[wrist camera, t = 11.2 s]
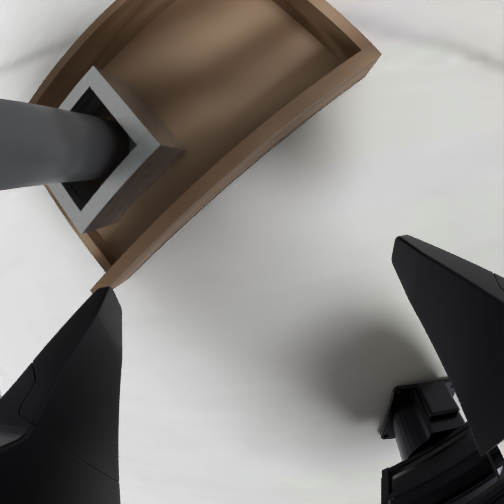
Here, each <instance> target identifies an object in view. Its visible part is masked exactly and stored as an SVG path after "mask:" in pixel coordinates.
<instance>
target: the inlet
mask: <svg viewBox="0 0 504 504" xmlns="http://www.w3.org/2000/svg"><path fill="white" fill-rule="evenodd" d="M58 109H63V110H68V111H73V112H77V113H82V114H87V115H91V116H96V117H100V118H104V119H107V118H108V117H109V116H110V115H111V114H112V115H113V116H114V117H115V119H116V120H117V121H118V122H119V124H120V125H121V126H122V127H123V129H124V130H125V131H126V132H127V133H128V135H129V136H130V137H131V138H132V140H133V141H134V142H135V143H136V144H137V146H136V147H135V148H134V149H133V150H132V151H131V152H130V153H129V155H128V156H127V157H126V158H125V159H124V160H123V161H122V162H121V163H120V165H119V166H118V167H117V168H116V169H115V170H114V171H113V173H112V174H111V175H110V176H109V177H108V178H107V180H106V181H105V182H104V183H103V184H102V183H101V182H100V181H99V179H98V180H85V181H74V182H64V183H54V184H47V185H48V187H49V188H50V190H51V191H52V193H53V194H54V196H55V197H56V199H57V200H58V202H59V203H60V205H61V206H62V208H63V209H64V211H65V212H66V214H67V215H68V217H69V218H70V220H71V221H72V222H73V224H74V225H75V227H76V228H77V230H78V231H79V232H80V234H84V233H87V232H90V231H93V230H96V229H100V228H103V227H106V226H109V225H112V224H115V223H117V222H118V221H119V220H120V219H121V218H122V217H123V216H124V215H125V213H126V212H127V211H128V210H129V209H130V208H131V207H132V206H133V205H134V204H135V203H136V202H137V200H138V199H139V198H140V197H141V196H142V195H143V194H144V193H145V192H146V191H147V190H148V189H149V188H150V187H151V186H152V185H153V184H154V183H155V182H156V181H157V180H158V179H159V178H160V177H161V176H162V175H163V174H164V173H165V172H166V171H167V170H168V169H169V168H170V167H171V166H172V165H173V164H174V163H175V162H176V161H177V160H178V159H179V158H180V157H181V156H182V155H183V154H184V153H185V152H186V151H187V149H186V148H185V147H184V146H183V145H182V144H181V142H180V141H179V140H178V139H177V138H176V137H175V136H174V134H173V133H172V132H171V131H170V130H169V129H168V128H167V126H166V125H165V124H164V123H163V122H162V121H161V119H160V118H159V117H158V116H157V115H156V114H155V113H154V112H153V110H152V109H151V108H150V107H149V106H148V105H147V104H146V102H145V101H144V100H143V99H142V98H141V97H140V96H139V94H138V93H137V92H136V91H135V90H134V89H133V88H132V87H131V85H130V84H129V83H128V82H127V81H125V80H123V79H121V78H119V77H117V76H115V75H113V74H110V73H108V72H106V71H104V70H102V69H100V68H98V67H95V66H92V67H91V69H90V70H89V71H88V72H87V73H86V74H85V75H84V77H83V78H82V79H81V80H80V81H79V83H78V84H77V85H76V86H75V87H74V89H73V90H72V91H71V92H70V94H69V95H68V96H67V98H66V99H65V100H64V101H63V103H62V104H61V105H60V107H59V108H58Z"/></svg>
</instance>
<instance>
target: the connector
mask: <svg viewBox="0 0 504 504" xmlns="http://www.w3.org/2000/svg"><path fill="white" fill-rule="evenodd" d="M136 146H137V144H136V143H135V142H134V141H133V140H132V138H131V137H130V136H129V135H128V133H127V132H126V131H125V130H124V129H123V127H122V126H121V125H120V124H119V123H118V122H116V121H112V120H108V119H104V118H100V117H96V116H91V115H87V114H82V113H77V112H73V111H68V110H63V109H58V108H53V107H47V106H42V105H36V104H31V103H25V102H18V101H12V100H5V99H0V190H6V189H13V188H20V187H28V186H36V185H45V184H54V183H64V182H74V181H85V180H98V179H107V178H108V177H109V176H110V175H111V174H112V173H113V171H114V170H115V169H116V168H117V167H118V166H119V165H120V163H121V162H122V161H123V160H124V159H125V158H126V157H127V156H128V155H129V153H130V152H131V151H132V150H133V149H134V148H135V147H136Z"/></svg>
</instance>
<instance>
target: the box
mask: <svg viewBox="0 0 504 504" xmlns="http://www.w3.org/2000/svg"><path fill="white" fill-rule="evenodd" d="M380 56H381V53H380V52H379V51H378V50H377V49H376V47H375V46H374V45H373V44H372V43H371V42H370V41H369V40H368V39H367V38H366V37H365V36H364V35H363V34H362V33H361V32H360V31H359V30H358V29H357V28H356V27H354V26H353V25H352V24H351V23H350V22H349V21H348V20H347V19H346V18H345V17H344V16H343V15H342V14H340V13H339V12H338V11H337V10H336V9H335V8H334V7H332V6H331V5H330V4H329V3H328V2H327V1H325V0H116V1H115V2H114V3H113V4H112V5H111V6H109V7H108V8H107V9H106V10H105V11H104V12H103V13H102V14H101V15H100V16H99V17H98V18H97V19H96V20H95V21H94V22H93V23H92V24H91V25H90V26H89V27H88V29H87V30H86V31H85V32H84V33H83V34H82V35H81V36H80V37H79V38H78V39H77V41H76V42H75V43H74V44H73V45H72V46H71V47H70V49H69V50H68V51H67V52H66V53H65V55H64V56H63V57H62V58H61V59H60V61H59V62H58V63H57V64H56V66H55V67H54V68H53V70H52V71H51V72H50V73H49V75H48V76H47V77H46V79H45V80H44V81H43V83H42V84H41V86H40V87H39V88H38V90H37V91H36V93H35V94H34V96H33V97H32V99H31V100H30V102H29V103H31V104H36V105H42V106H47V107H53V108H59V107H60V105H61V104H62V103H63V101H64V100H65V99H66V98H67V96H68V95H69V94H70V92H71V91H72V90H73V89H74V87H75V86H76V85H77V84H78V83H79V81H80V80H81V79H82V78H83V77H84V75H85V74H86V73H87V72H88V71H89V70H90V69H91V67H92V66H95V67H98V68H100V69H102V70H104V71H106V72H108V73H110V74H113V75H115V76H117V77H119V78H121V79H123V80H125V81H127V82H128V83H129V84H130V85H131V87H132V88H133V89H134V90H135V91H136V92H137V93H138V94H139V96H140V97H141V98H142V99H143V100H144V101H145V102H146V104H147V105H148V106H149V107H150V108H151V109H152V110H153V112H154V113H155V114H156V115H157V116H158V117H159V118H160V119H161V121H162V122H163V123H164V124H165V125H166V126H167V128H168V129H169V130H170V131H171V132H172V133H173V134H174V136H175V137H176V138H177V139H178V140H179V141H180V142H181V144H182V145H183V146H184V147H185V148H186V149H187V151H186V152H185V153H184V154H183V155H182V156H181V157H180V158H179V159H178V160H177V161H176V162H175V163H174V164H173V165H172V166H171V167H170V168H169V169H168V170H167V171H166V172H165V173H164V174H163V175H162V176H161V177H160V178H159V179H158V180H157V181H156V182H155V183H154V184H153V185H152V186H151V187H150V188H149V189H148V190H147V191H146V192H145V193H144V194H143V195H142V196H141V197H140V198H139V199H138V200H137V202H136V203H135V204H134V205H133V206H132V207H131V208H130V209H129V210H128V211H127V212H126V213H125V215H124V216H123V217H122V218H121V219H120V220H119V221H118V222H117V223H115V224H112V225H109V226H106V227H103V228H100V229H96V230H93V231H90V232H87V233H84V234H80V232H79V231H78V230H77V228H76V227H75V225H74V224H73V222H72V221H71V220H70V218H69V217H68V215H67V214H66V212H65V211H64V209H63V208H62V206H61V205H60V203H59V202H58V200H57V199H56V197H55V196H54V194H53V193H52V191H51V190H50V188H49V187H48V185H47V184H45V185H44V186H45V187H46V189H47V190H48V192H49V194H50V195H51V197H52V198H53V200H54V201H55V203H56V204H57V206H58V207H59V209H60V210H61V212H62V213H63V215H64V216H65V218H66V219H67V221H68V222H69V223H70V225H71V226H72V228H73V229H74V231H75V232H76V233H77V235H78V236H79V238H80V239H81V240H82V242H83V243H84V244H85V246H86V247H87V248H88V250H89V251H90V252H91V254H92V255H93V256H94V258H95V259H96V260H97V262H98V263H99V264H100V266H101V267H102V268H103V269H104V271H105V272H106V273H105V274H104V275H103V276H102V278H101V279H100V280H99V281H98V282H97V283H96V284H95V285H94V287H93V288H92V289H91V290H90V291H91V292H92V293H94V292H95V291H96V290H97V289H98V288H101V287H107V286H110V287H111V288H112V289H114V288H115V287H117V286H118V285H120V284H121V283H123V282H124V281H126V280H127V279H129V278H130V277H131V276H132V275H133V274H134V273H135V272H136V271H137V270H138V269H139V268H140V267H141V266H142V265H143V264H144V263H145V262H146V261H147V260H148V259H149V258H150V257H151V256H152V255H153V254H154V253H155V252H156V251H157V250H158V249H159V248H160V247H161V246H162V245H163V244H164V243H166V242H167V241H168V240H169V239H170V238H171V237H172V236H173V235H174V234H175V233H176V232H177V231H178V230H179V229H180V228H182V227H183V226H184V225H185V224H186V223H187V222H188V221H189V220H190V219H191V218H192V217H193V216H195V215H196V214H197V213H198V212H199V211H200V210H201V209H202V208H203V207H205V206H206V205H207V204H208V203H209V202H210V201H211V200H212V199H213V198H215V197H216V196H217V195H218V194H219V193H220V192H221V191H223V190H224V189H225V188H226V187H227V186H228V185H229V184H231V183H232V182H233V181H234V180H235V179H236V178H237V177H239V176H240V175H241V174H242V173H243V172H244V171H246V170H247V169H248V168H249V167H250V166H252V165H253V164H254V163H255V162H256V161H258V160H259V159H260V158H261V157H262V156H263V155H265V154H266V153H267V152H268V151H270V150H271V149H272V148H273V147H274V146H276V145H277V144H278V143H279V142H281V141H282V140H283V139H284V138H285V137H287V136H288V135H289V134H290V133H292V132H293V131H294V130H295V129H297V128H298V127H299V126H300V125H302V124H303V123H304V122H306V121H307V120H308V119H309V118H311V117H312V116H313V115H315V114H316V113H317V112H318V111H320V110H321V109H322V108H324V107H325V106H326V105H328V104H329V103H330V102H331V101H333V100H334V99H335V98H337V97H338V96H339V95H341V94H342V93H343V92H345V91H346V90H348V89H349V88H350V87H352V86H353V85H354V84H356V83H357V82H358V81H360V80H361V79H363V78H364V77H365V76H366V75H367V73H368V72H369V70H370V69H371V68H372V66H373V65H374V64H375V62H376V61H377V60H378V58H379V57H380ZM107 119H108V120H112V121H116V122H118V121H117V120H116V119H115V117H114V116H113V115H112V114H111V115H110V116H109V117H108V118H107ZM118 123H119V122H118ZM106 180H107V179H99V181H100V182H101V183H102V184H103V183H104V182H105V181H106Z"/></svg>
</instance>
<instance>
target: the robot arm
mask: <svg viewBox="0 0 504 504" xmlns="http://www.w3.org/2000/svg"><path fill="white" fill-rule="evenodd" d="M392 264H393V266H394V268H395V270H396V273H397V275H398V277H399V279H400V281H401V284H402V286H403V288H404V290H405V293H406V295H407V297H408V299H409V301H410V303H411V305H412V307H413V309H414V310H415V312H416V314H417V316H418V318H419V320H420V321H421V323H422V325H423V327H424V329H425V331H426V333H427V335H428V337H429V339H430V340H431V342H432V344H433V346H434V348H435V350H436V352H437V354H438V356H439V358H440V361H441V363H442V365H443V367H444V369H445V371H446V373H447V375H448V377H449V380H444V381H437V382H430V383H423V384H415V385H406V386H398V387H396V388H395V389H394V390H393V393H392V397H391V400H390V404H389V407H388V411H387V414H386V418H385V421H384V424H383V427H382V431H381V434H380V435H381V438H382V439H392V438H396V441H397V445H398V448H399V451H400V455H401V458H402V462H400V463H398V464H396V465H394V466H392V467H390V468H386V469H384V470H382V478H381V504H504V458H503V456H502V454H501V452H500V450H499V448H498V446H497V445H498V444H499V443H501V442H502V441H503V440H504V278H503V277H501V276H499V275H497V274H495V273H494V274H493V273H492V272H491V271H488V270H486V269H484V268H482V267H480V266H478V265H476V264H474V263H471V262H469V261H467V260H465V259H463V258H460V257H458V256H456V255H454V254H452V253H449V252H447V251H445V250H442V249H440V248H438V247H436V246H433V245H431V244H429V243H426V242H424V241H421V240H419V239H417V238H414V237H412V236H409V235H402V236H398V237H396V239H395V243H394V248H393V253H392ZM121 367H122V309H121V306H120V304H119V302H118V299H117V297H116V295H115V293H114V291H113V289H112V288H111V287H110V286H107V287H101V288H98V289H97V290H96V291H95V292H94V293H93V294H92V295H91V296H90V297H89V298H88V299H87V300H86V301H85V303H84V304H83V305H82V306H81V307H80V308H79V309H78V310H77V311H76V312H75V313H74V314H73V316H72V317H71V318H70V319H69V320H68V321H67V322H66V323H65V324H64V326H63V327H62V328H61V329H60V330H59V331H58V332H57V333H56V335H55V336H54V337H53V338H52V339H51V340H50V341H49V343H48V344H47V345H46V346H45V347H44V348H43V350H42V351H41V352H40V353H39V354H38V356H37V357H36V358H35V359H34V360H33V363H31V364H30V365H29V366H28V368H27V369H26V370H25V371H24V372H23V374H22V375H21V376H20V377H19V378H18V380H17V381H16V382H15V383H14V384H13V385H12V386H11V388H10V389H9V390H8V391H7V392H6V393H5V394H4V395H3V396H2V398H1V399H0V504H120V488H119V483H118V482H119V462H118V429H119V399H120V381H121ZM399 391H400V392H399ZM397 392H399V393H397ZM454 393H456V395H457V397H458V400H459V402H460V403H461V404H460V405H461V407H462V410H463V412H464V414H465V417H466V419H467V422H466V423H465V421H464V419H463V418H462V416H461V414H460V412H459V410H460V409H459V407H458V405H457V403H456V402H455V400H454V398H453V396H454Z"/></svg>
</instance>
